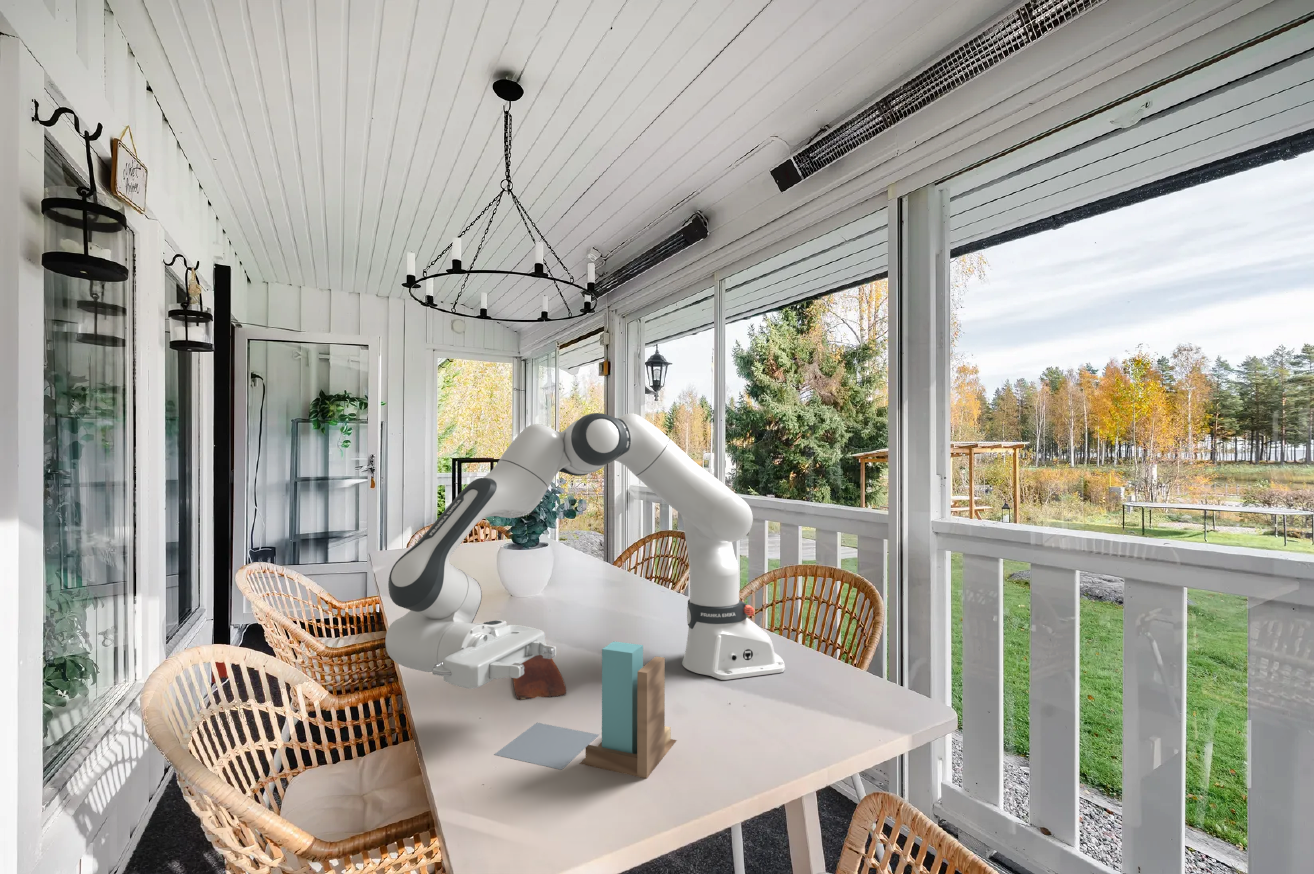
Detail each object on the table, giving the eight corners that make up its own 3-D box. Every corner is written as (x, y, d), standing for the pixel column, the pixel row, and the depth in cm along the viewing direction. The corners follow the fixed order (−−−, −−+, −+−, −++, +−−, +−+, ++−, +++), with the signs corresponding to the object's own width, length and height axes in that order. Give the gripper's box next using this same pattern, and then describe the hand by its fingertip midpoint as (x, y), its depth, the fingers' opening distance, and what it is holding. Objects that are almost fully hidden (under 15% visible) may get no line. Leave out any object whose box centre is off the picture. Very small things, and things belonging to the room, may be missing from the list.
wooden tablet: (568, 698, 121) (568, 689, 121) (515, 704, 119) (516, 695, 119) (552, 654, 147) (552, 647, 147) (509, 657, 144) (509, 650, 144)
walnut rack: (615, 734, 105) (615, 639, 105) (676, 746, 101) (676, 646, 101) (579, 770, 93) (579, 662, 93) (646, 785, 89) (647, 672, 89)
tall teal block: (613, 750, 97) (613, 641, 97) (642, 756, 95) (643, 645, 96) (601, 762, 93) (602, 648, 94) (632, 768, 92) (632, 653, 92)
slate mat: (536, 728, 107) (536, 722, 107) (599, 740, 103) (599, 734, 103) (493, 760, 96) (494, 754, 96) (561, 776, 91) (561, 769, 91)
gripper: (425, 650, 96) (499, 662, 91) (504, 617, 115) (570, 625, 110) (424, 691, 96) (499, 706, 91) (504, 651, 115) (570, 661, 109)
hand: (538, 661), depth 100 cm, fingers open, 8 cm apart
